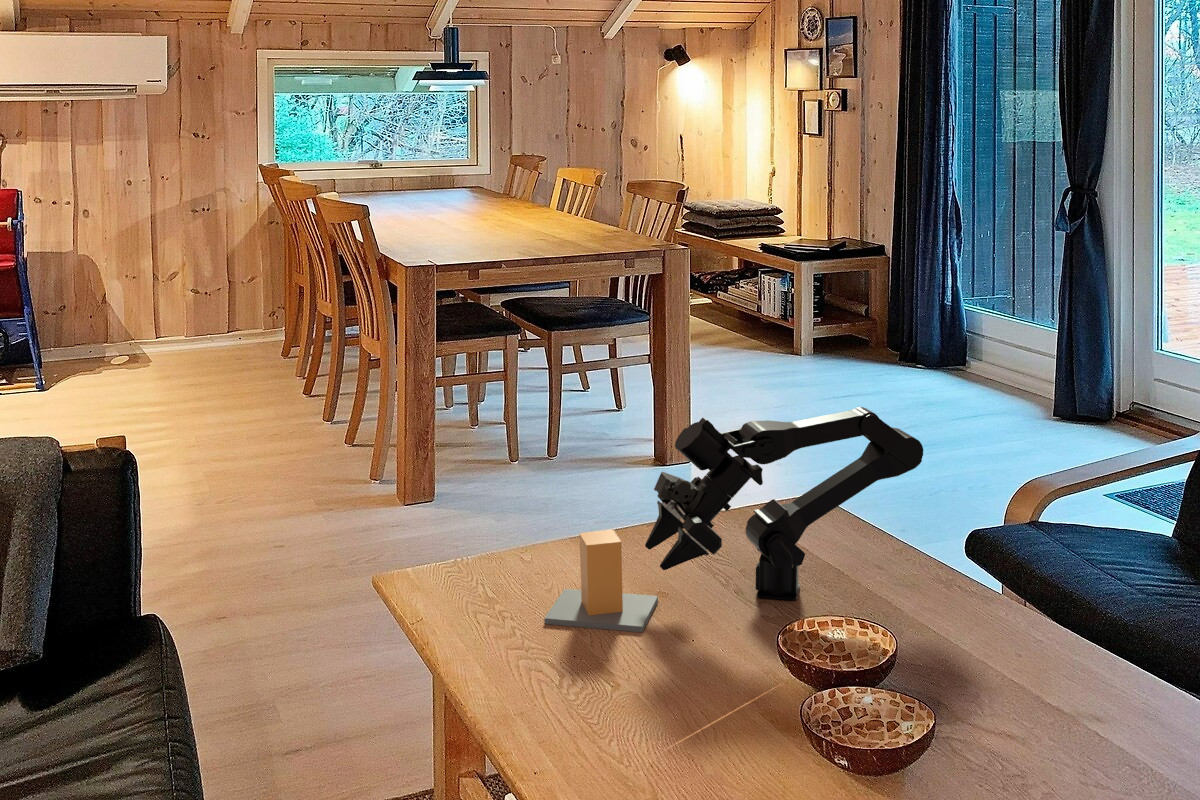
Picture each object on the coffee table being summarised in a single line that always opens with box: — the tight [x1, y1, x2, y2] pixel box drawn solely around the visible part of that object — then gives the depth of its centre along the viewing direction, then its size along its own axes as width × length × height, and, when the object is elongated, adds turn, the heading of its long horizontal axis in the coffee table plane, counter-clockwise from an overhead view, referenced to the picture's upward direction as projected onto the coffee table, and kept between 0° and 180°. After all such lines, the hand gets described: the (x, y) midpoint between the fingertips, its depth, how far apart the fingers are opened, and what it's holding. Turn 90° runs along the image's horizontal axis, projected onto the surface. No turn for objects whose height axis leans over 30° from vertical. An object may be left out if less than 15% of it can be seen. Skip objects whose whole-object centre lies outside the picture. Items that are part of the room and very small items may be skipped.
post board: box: [543, 588, 659, 633], centre depth 210 cm, size 16×12×4 cm
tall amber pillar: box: [579, 529, 623, 615], centre depth 208 cm, size 6×6×12 cm
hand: (654, 557), depth 210 cm, fingers open, 9 cm apart
